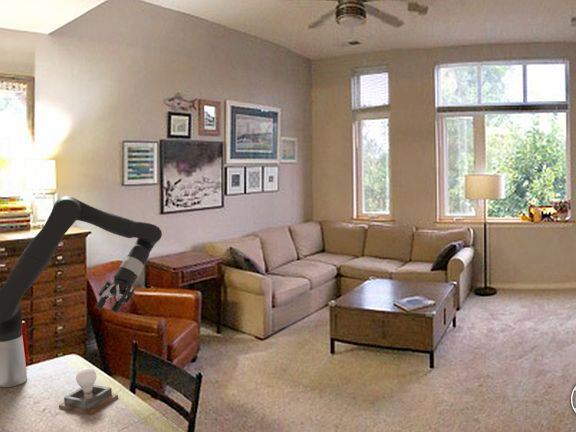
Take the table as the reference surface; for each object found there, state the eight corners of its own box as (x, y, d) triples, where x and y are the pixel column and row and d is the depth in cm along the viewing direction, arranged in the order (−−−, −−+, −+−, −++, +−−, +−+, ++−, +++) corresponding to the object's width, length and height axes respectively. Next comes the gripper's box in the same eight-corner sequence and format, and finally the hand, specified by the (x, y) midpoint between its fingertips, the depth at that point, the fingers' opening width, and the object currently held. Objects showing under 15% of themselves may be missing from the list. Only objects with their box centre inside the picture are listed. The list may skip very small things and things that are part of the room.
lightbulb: (91, 404, 166) (88, 372, 165) (74, 403, 167) (70, 371, 166) (102, 395, 172) (99, 364, 171) (85, 394, 173) (82, 363, 172)
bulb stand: (59, 407, 167) (57, 397, 167) (86, 391, 178) (85, 381, 177) (91, 414, 161) (90, 404, 161) (118, 397, 172) (117, 387, 172)
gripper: (110, 264, 191) (86, 302, 184) (135, 267, 184) (111, 307, 176) (123, 275, 197) (100, 312, 189) (148, 278, 189) (125, 317, 181)
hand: (105, 309), depth 182 cm, fingers open, 8 cm apart
